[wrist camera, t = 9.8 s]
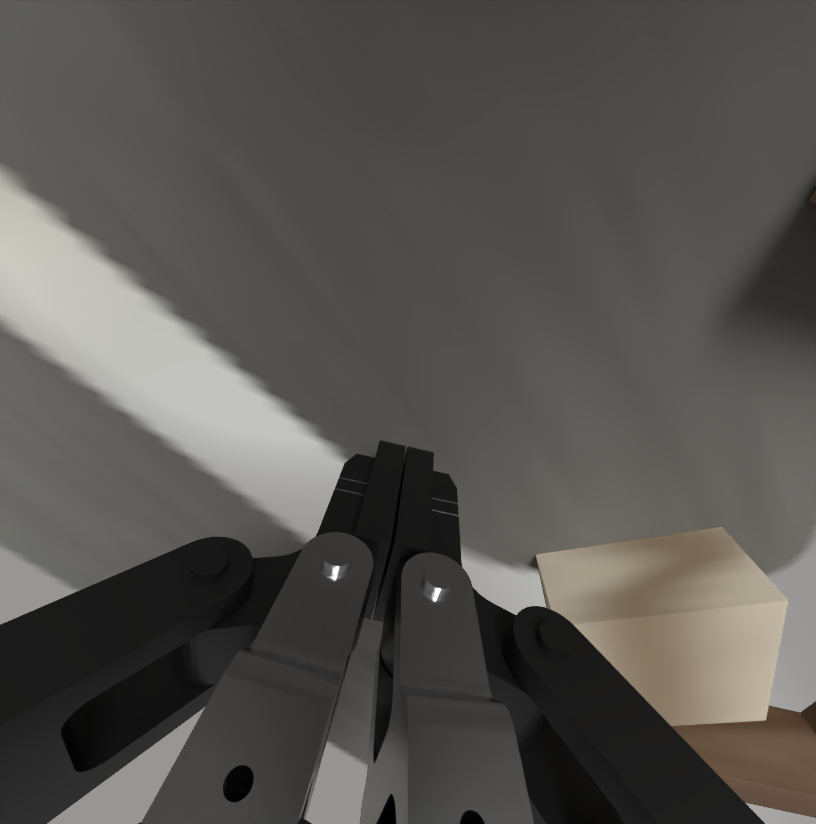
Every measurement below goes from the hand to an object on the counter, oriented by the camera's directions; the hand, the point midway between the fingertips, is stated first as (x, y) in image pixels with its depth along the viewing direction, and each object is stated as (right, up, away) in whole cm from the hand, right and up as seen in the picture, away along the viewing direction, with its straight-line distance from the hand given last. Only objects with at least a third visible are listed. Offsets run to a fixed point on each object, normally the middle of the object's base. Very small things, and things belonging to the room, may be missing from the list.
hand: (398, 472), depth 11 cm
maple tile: (+9, -5, +4) cm, 11 cm away
